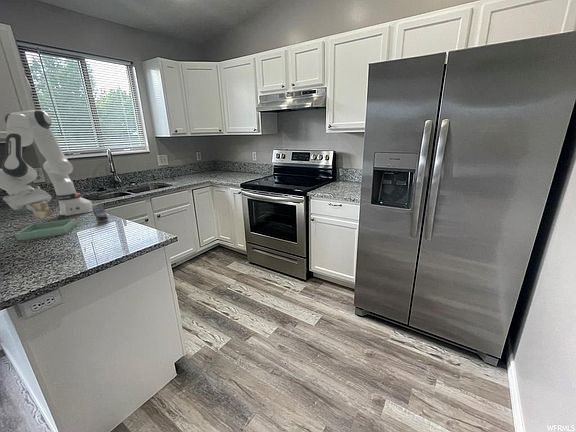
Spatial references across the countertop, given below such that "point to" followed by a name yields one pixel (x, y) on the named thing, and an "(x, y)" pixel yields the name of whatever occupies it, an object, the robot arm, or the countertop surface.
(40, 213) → the maple block
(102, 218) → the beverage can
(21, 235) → the tray
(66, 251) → the countertop surface
